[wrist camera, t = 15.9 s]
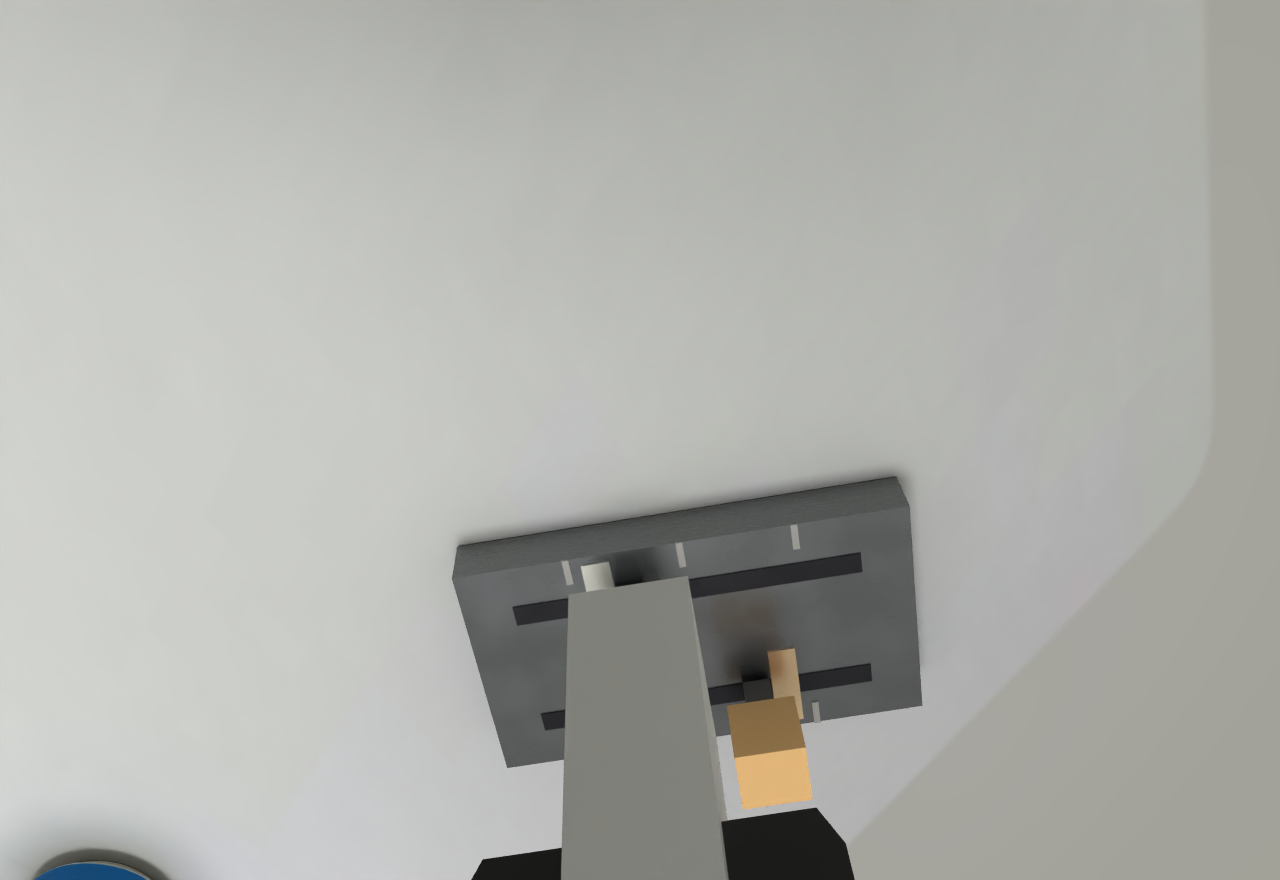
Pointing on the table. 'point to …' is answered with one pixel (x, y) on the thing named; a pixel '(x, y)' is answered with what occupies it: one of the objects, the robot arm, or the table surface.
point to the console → (711, 605)
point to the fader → (768, 748)
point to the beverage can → (93, 872)
